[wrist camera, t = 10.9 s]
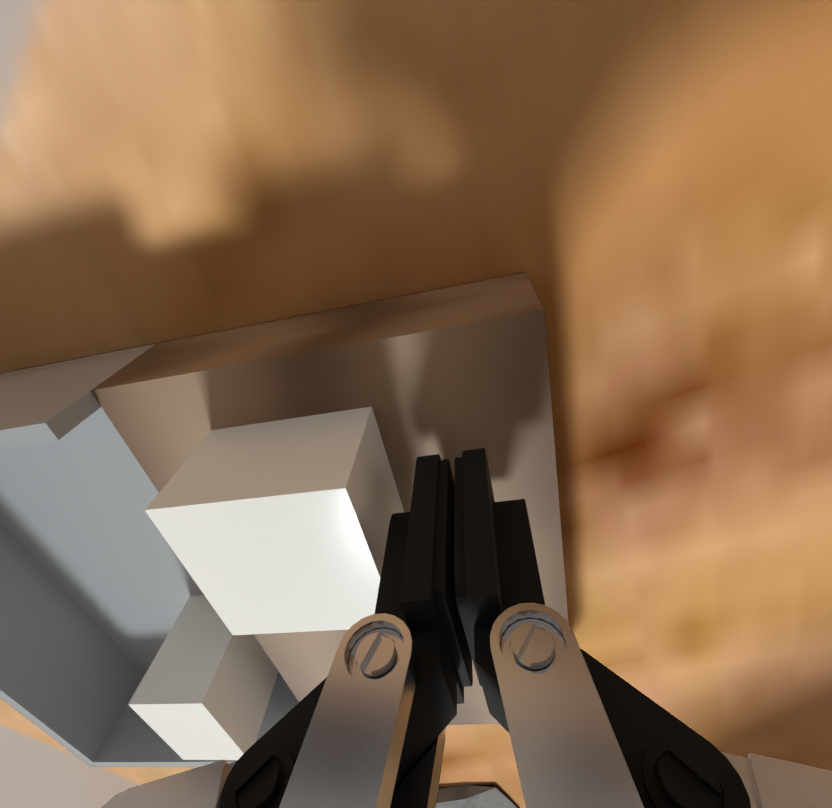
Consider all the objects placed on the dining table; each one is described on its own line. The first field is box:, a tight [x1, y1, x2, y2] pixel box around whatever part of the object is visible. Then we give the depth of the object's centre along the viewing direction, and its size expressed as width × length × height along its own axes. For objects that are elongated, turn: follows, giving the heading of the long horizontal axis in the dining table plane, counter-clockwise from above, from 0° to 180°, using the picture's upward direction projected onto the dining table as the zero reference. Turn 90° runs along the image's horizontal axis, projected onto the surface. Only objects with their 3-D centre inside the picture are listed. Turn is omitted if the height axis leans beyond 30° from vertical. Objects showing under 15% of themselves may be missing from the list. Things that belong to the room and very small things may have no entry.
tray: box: [0, 344, 299, 767], centre depth 18 cm, size 11×18×4 cm, turn 12°
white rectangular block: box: [145, 407, 404, 635], centre depth 11 cm, size 4×4×3 cm
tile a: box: [128, 595, 279, 760], centre depth 19 cm, size 4×4×3 cm
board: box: [91, 273, 569, 725], centre depth 16 cm, size 12×18×3 cm, turn 12°
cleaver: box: [436, 785, 517, 808], centre depth 31 cm, size 29×10×2 cm, turn 24°
